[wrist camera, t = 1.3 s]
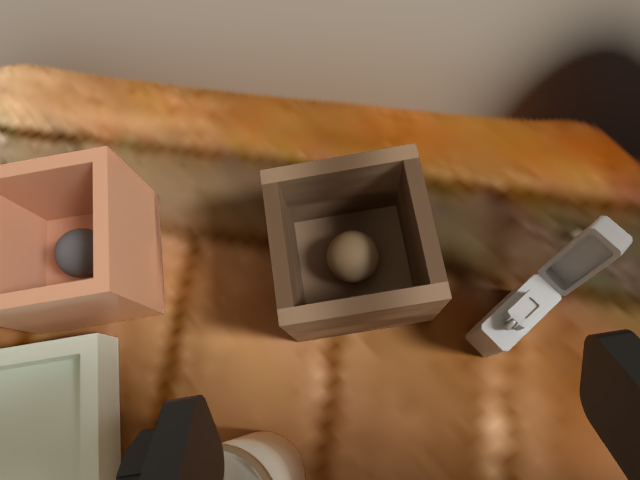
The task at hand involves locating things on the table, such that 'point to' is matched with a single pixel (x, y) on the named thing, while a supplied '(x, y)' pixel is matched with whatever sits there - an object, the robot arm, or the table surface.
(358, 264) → the cork ball
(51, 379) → the sage tray
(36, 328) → the pink square bin
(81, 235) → the rubber ball
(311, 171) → the brown open square box
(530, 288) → the lighter
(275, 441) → the cream canister
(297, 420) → the table surface
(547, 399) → the table surface
